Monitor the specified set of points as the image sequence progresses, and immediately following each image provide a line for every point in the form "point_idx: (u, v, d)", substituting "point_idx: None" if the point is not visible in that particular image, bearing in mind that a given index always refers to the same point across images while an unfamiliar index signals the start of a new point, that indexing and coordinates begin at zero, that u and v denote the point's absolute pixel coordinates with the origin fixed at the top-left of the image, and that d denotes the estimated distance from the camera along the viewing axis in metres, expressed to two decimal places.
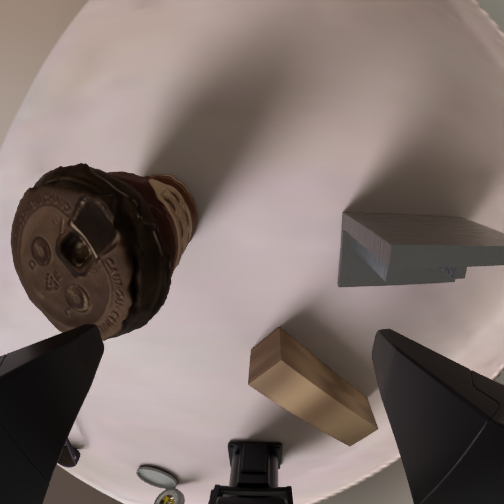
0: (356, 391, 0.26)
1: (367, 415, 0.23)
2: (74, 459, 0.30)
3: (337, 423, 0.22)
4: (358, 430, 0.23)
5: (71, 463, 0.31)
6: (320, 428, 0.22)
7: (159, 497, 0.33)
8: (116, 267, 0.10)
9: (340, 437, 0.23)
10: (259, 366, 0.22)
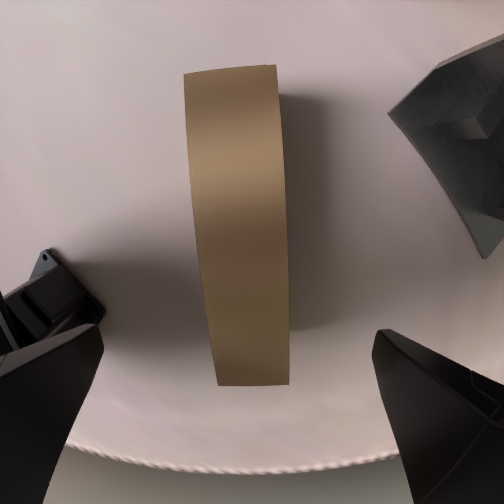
0: None
1: None
2: None
3: (242, 306, 0.12)
4: (260, 358, 0.13)
5: None
6: (207, 291, 0.12)
7: None
8: None
9: (220, 349, 0.13)
10: None
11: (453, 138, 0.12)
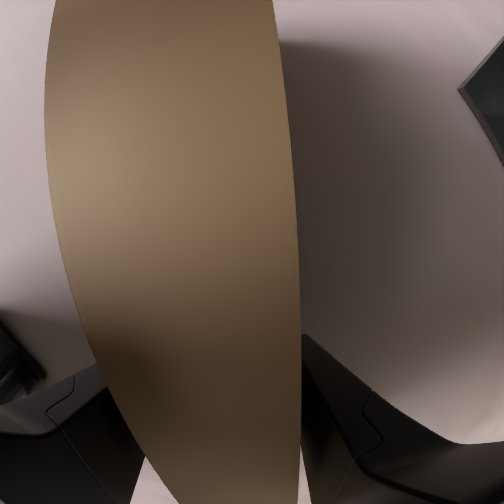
0: None
1: None
2: None
3: (208, 458, 0.05)
4: (249, 503, 0.06)
5: None
6: (138, 433, 0.05)
7: None
8: None
9: (183, 492, 0.06)
10: None
11: None
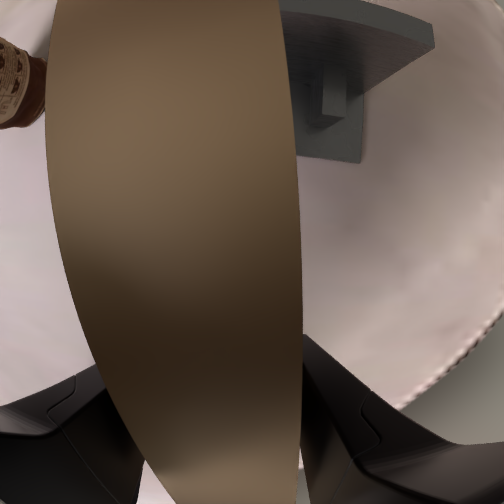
0: None
1: None
2: None
3: (207, 459, 0.05)
4: None
5: None
6: (136, 434, 0.05)
7: None
8: None
9: (181, 493, 0.06)
10: None
11: None
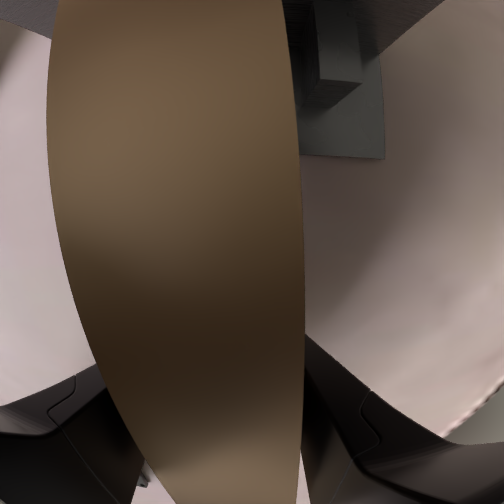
0: None
1: None
2: None
3: (207, 459, 0.05)
4: None
5: None
6: (136, 433, 0.05)
7: None
8: None
9: (181, 493, 0.06)
10: None
11: None
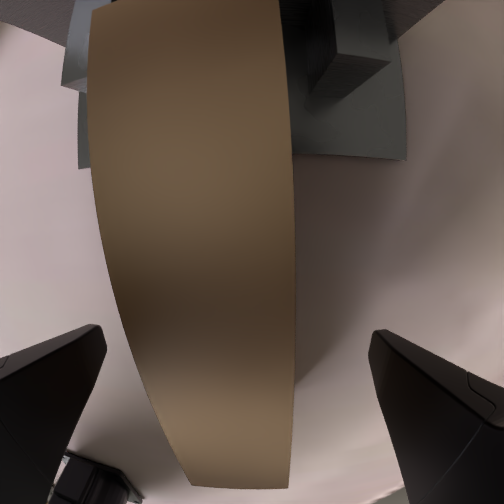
0: None
1: None
2: None
3: (215, 421, 0.06)
4: (247, 469, 0.07)
5: None
6: (155, 399, 0.06)
7: None
8: None
9: (188, 458, 0.07)
10: None
11: None
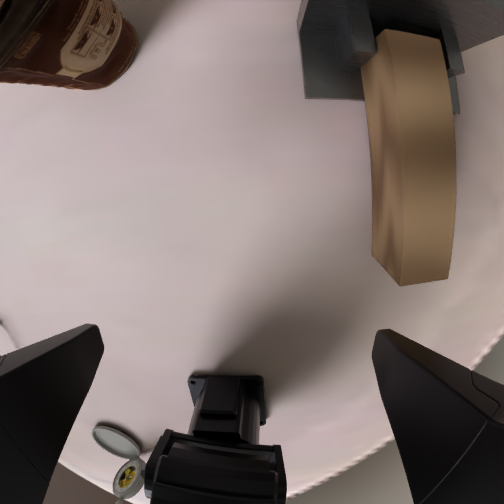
0: None
1: None
2: None
3: (429, 205, 0.13)
4: (434, 253, 0.14)
5: None
6: (407, 192, 0.13)
7: (121, 470, 0.27)
8: None
9: (409, 246, 0.14)
10: None
11: (358, 67, 0.15)
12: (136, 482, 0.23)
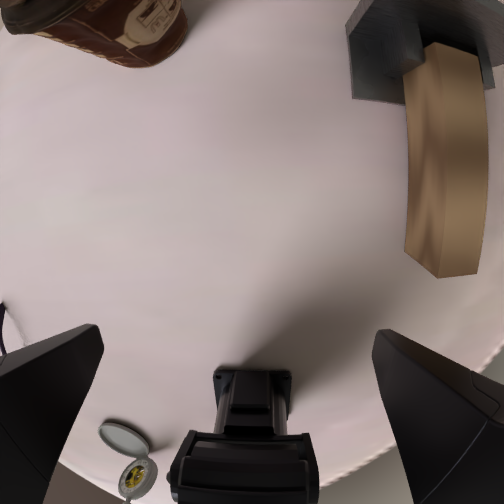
0: None
1: None
2: None
3: (465, 204, 0.13)
4: (467, 249, 0.14)
5: None
6: (449, 191, 0.13)
7: (127, 469, 0.26)
8: None
9: (448, 240, 0.14)
10: None
11: (402, 74, 0.15)
12: (146, 482, 0.22)
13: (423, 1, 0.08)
